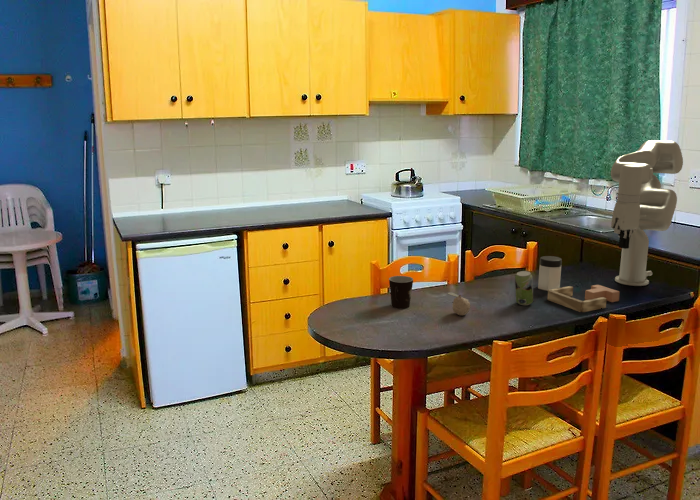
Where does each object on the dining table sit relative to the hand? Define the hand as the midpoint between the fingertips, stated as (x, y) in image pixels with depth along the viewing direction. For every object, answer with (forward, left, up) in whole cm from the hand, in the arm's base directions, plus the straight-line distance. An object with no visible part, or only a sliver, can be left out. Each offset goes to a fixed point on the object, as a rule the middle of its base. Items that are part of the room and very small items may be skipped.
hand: (623, 247), depth 239 cm
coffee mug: (+82, -26, -19) cm, 88 cm away
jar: (+17, -19, -19) cm, 32 cm away
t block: (+11, 0, -18) cm, 21 cm away
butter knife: (+55, -20, -19) cm, 61 cm away
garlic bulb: (+67, -9, -19) cm, 70 cm away
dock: (+22, 0, -18) cm, 29 cm away
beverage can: (+40, -8, -19) cm, 45 cm away
